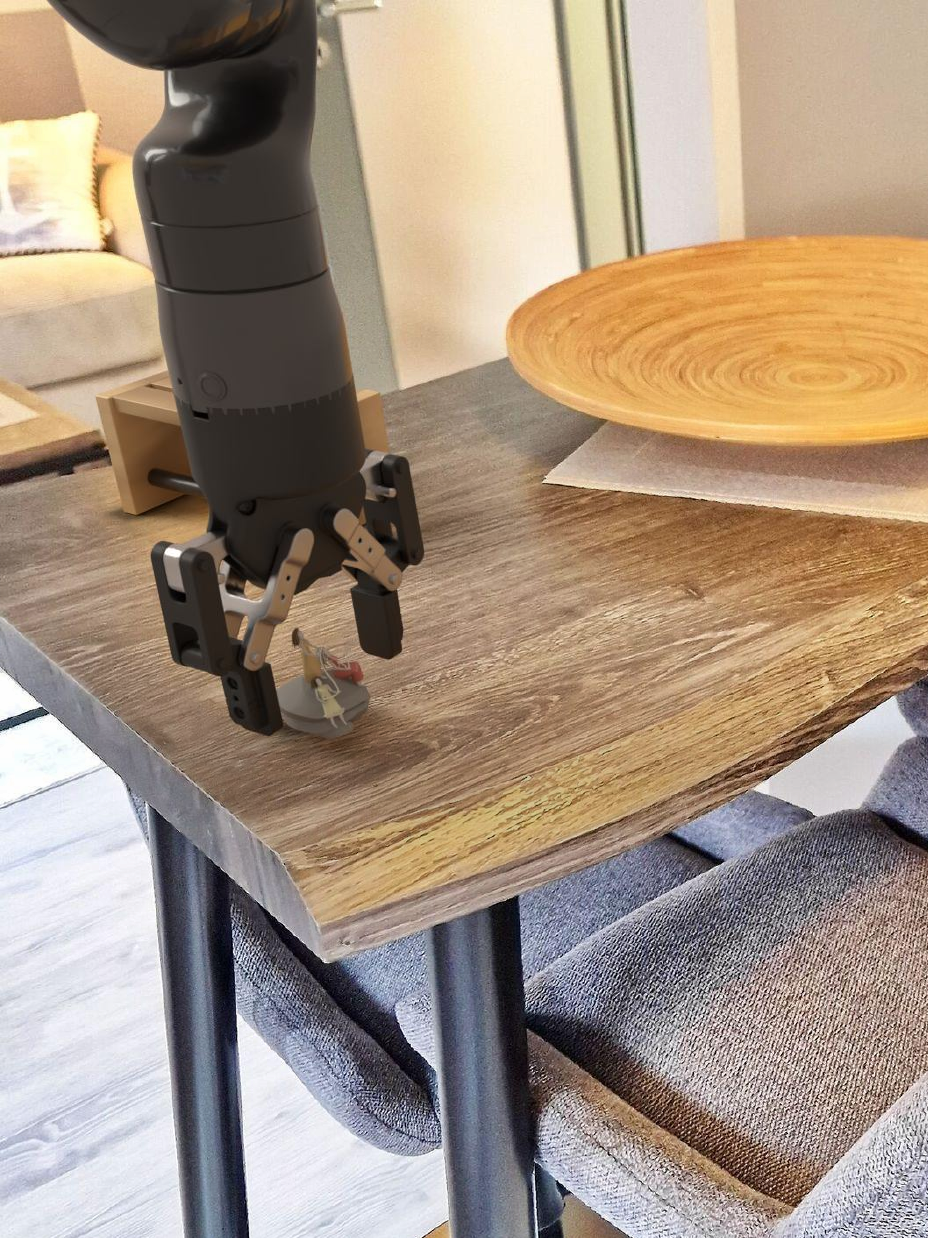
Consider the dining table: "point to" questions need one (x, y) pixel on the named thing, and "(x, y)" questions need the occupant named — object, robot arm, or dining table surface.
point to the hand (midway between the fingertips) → (324, 690)
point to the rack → (177, 441)
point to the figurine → (323, 693)
